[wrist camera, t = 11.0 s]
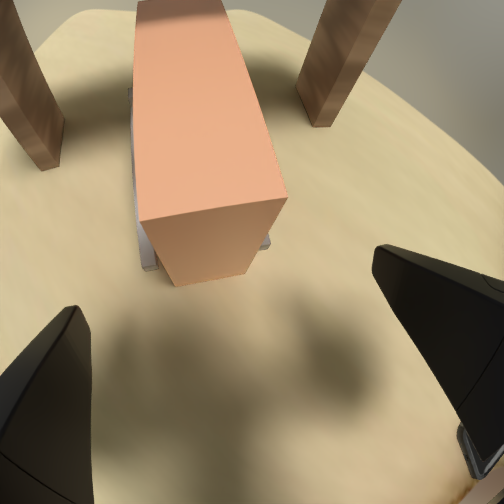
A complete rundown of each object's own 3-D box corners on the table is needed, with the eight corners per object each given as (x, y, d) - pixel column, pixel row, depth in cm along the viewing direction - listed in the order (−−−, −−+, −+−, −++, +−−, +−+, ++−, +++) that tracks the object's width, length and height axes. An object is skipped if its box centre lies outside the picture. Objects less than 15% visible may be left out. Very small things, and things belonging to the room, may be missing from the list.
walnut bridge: (369, 230, 20) (551, 81, 5) (39, 290, 16) (-169, 178, 1) (308, 78, 23) (371, -77, 8) (50, 114, 19) (-18, -42, 4)
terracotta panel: (244, 273, 18) (288, 197, 8) (175, 287, 17) (139, 221, 8) (209, 111, 21) (218, -8, 11) (154, 119, 20) (137, 1, 11)
